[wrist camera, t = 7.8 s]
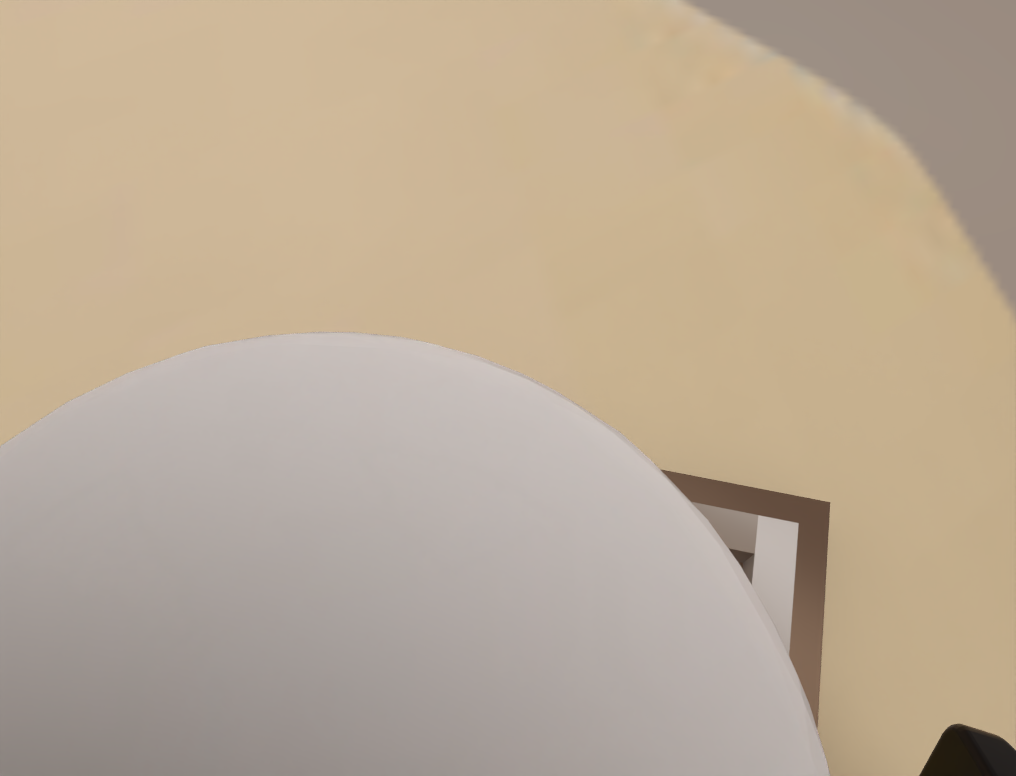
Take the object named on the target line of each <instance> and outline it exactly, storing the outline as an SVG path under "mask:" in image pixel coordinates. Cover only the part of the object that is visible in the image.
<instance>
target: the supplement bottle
mask: <svg viewBox="0 0 1016 776" xmlns="http://www.w3.org/2000/svg"><path fill="white" fill-rule="evenodd" d="M0 776H830V773H829V769H828V765H827V761H826V757H825V754H824V751H823V747H822V744H821V741H820V738H819V734H818V731H817V728H816V724H815V721H814V718H813V715H812V711H811V708H810V705H809V702H808V700H807V697H806V695H805V692H804V690H803V687H802V685H801V683H800V680H799V678H798V675H797V673H796V671H795V668H794V666H793V664H792V662H791V660H790V657H789V655H788V653H787V651H786V648H785V646H784V644H783V642H782V640H781V637H780V635H779V633H778V631H777V628H776V626H775V624H774V623H773V621H772V619H771V617H770V616H769V614H768V612H767V611H766V609H765V607H764V605H763V604H762V602H761V600H760V599H759V597H758V595H757V593H756V592H755V590H754V588H753V586H752V585H751V583H750V581H749V580H748V578H747V576H746V574H745V573H744V571H743V569H742V568H741V566H740V564H739V563H738V561H737V560H736V559H735V557H734V556H733V554H732V553H731V552H730V550H729V549H728V547H727V546H726V545H725V543H724V542H723V541H722V539H721V538H720V536H719V535H718V534H717V532H716V531H715V529H714V528H713V527H712V525H711V524H710V522H709V521H708V520H707V519H706V517H705V516H704V515H703V514H702V513H701V512H700V511H699V510H698V509H697V508H696V507H695V506H694V505H693V504H692V503H691V501H690V500H689V499H688V498H687V497H686V496H685V495H684V494H683V493H682V492H681V491H680V490H679V489H678V488H677V486H676V485H675V484H674V483H673V482H672V481H671V480H670V479H669V478H668V477H667V476H666V475H665V474H664V473H663V472H662V471H661V470H660V469H659V468H658V467H657V466H656V465H655V464H654V463H653V462H652V461H651V460H650V459H649V458H648V457H647V456H646V455H645V454H644V453H642V452H641V451H640V450H639V449H638V448H637V447H636V446H635V445H634V444H633V443H631V442H630V441H629V440H628V439H627V438H626V437H625V436H624V435H623V434H621V433H620V432H619V431H617V430H616V429H614V428H613V427H611V426H610V425H608V424H607V423H605V422H604V421H602V420H600V419H599V418H597V417H596V416H594V415H593V414H591V413H590V412H588V411H586V410H585V409H583V408H582V407H580V406H579V405H577V404H576V403H574V402H573V401H571V400H569V399H568V398H566V397H565V396H563V395H562V394H560V393H559V392H557V391H555V390H553V389H551V388H549V387H547V386H545V385H544V384H542V383H540V382H538V381H536V380H534V379H532V378H530V377H528V376H526V375H524V374H522V373H519V372H517V371H514V370H512V369H509V368H507V367H504V366H502V365H499V364H497V363H494V362H492V361H489V360H487V359H484V358H482V357H479V356H476V355H472V354H469V353H465V352H461V351H457V350H454V349H450V348H446V347H443V346H439V345H435V344H431V343H428V342H423V341H418V340H413V339H408V338H404V337H397V336H387V335H377V334H367V333H356V332H310V333H296V334H282V335H268V336H262V337H256V338H250V339H244V340H239V341H233V342H227V343H221V344H215V345H209V346H204V347H201V348H198V349H195V350H192V351H188V352H185V353H182V354H179V355H176V356H174V357H171V358H168V359H165V360H162V361H160V362H157V363H154V364H151V365H149V366H146V367H143V368H140V369H137V370H135V371H132V372H129V373H126V374H124V375H122V376H120V377H118V378H116V379H114V380H112V381H110V382H108V383H106V384H104V385H102V386H100V387H97V388H95V389H93V390H91V391H89V392H87V393H85V394H83V395H81V396H79V397H77V398H75V399H73V400H71V401H68V402H66V403H65V404H63V405H62V406H60V407H59V408H57V409H56V410H54V411H53V412H51V413H50V414H48V415H47V416H45V417H44V418H42V419H41V420H39V421H38V422H36V423H35V424H33V425H31V426H30V427H28V428H27V429H25V430H24V431H22V432H21V433H19V434H18V435H16V436H15V437H13V438H12V439H10V440H9V441H7V442H6V443H4V444H3V445H1V446H0Z"/></svg>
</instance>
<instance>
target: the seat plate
mask: <svg viewBox="0 0 1016 776" xmlns="http://www.w3.org/2000/svg"><path fill="white" fill-rule="evenodd" d="M661 471H662V472H663V473H664V474H665V475H666V476H667V477H668V478H669V479H670V480H671V481H672V482H673V483H674V484H675V485H676V486H677V488H678V489H679V490H680V491H681V492H682V493H683V494H684V495H685V496H686V497H687V498H688V499H689V500H690V501H691V503H692V504H693V505H694V506H695V507H696V508H697V509H698V510H699V511H700V512H701V513H702V514H703V515H704V516H705V517H706V519H707V520H708V521H709V522H710V524H711V525H712V527H713V528H714V529H715V531H716V532H717V534H718V535H719V536H720V538H721V539H722V541H723V542H724V543H725V545H726V546H727V547H728V549H729V550H730V552H731V553H732V554H733V556H734V557H735V559H736V560H737V561H738V563H739V564H740V566H741V568H742V569H743V571H744V573H745V574H746V576H747V578H748V580H749V581H750V583H751V585H752V586H753V588H754V590H755V592H756V593H757V595H758V597H759V599H760V600H761V602H762V604H763V605H764V607H765V609H766V611H767V612H768V614H769V616H770V617H771V619H772V621H773V623H774V624H775V626H776V628H777V631H778V633H779V635H780V637H781V640H782V642H783V644H784V646H785V648H786V651H787V653H788V655H789V657H790V660H791V662H792V664H793V666H794V668H795V671H796V673H797V675H798V678H799V680H800V683H801V685H802V687H803V690H804V692H805V695H806V697H807V700H808V702H809V705H810V708H811V711H812V715H813V718H814V721H815V724H816V728H817V727H818V709H819V691H820V673H821V655H822V637H823V619H824V602H825V584H826V566H827V548H828V530H829V512H830V502H825V501H820V500H815V499H810V498H804V497H799V496H794V495H789V494H784V493H779V492H774V491H768V490H763V489H758V488H753V487H748V486H743V485H737V484H732V483H727V482H722V481H717V480H712V479H706V478H701V477H696V476H691V475H686V474H681V473H676V472H670V471H665V470H661Z"/></svg>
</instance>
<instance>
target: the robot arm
mask: <svg viewBox="0 0 1016 776" xmlns="http://www.w3.org/2000/svg"><path fill="white" fill-rule="evenodd" d="M919 776H1016V750H1015V749H1014V748H1013V747H1012V746H1011V745H1010V744H1009V743H1008V742H1006V741H1005V740H1004V739H1003V738H1001V737H999V736H997V735H994V734H991V733H988V732H985V731H982V730H979V729H976V728H972V727H969V726H966V725H963V724H954V725H951V726H949V727H948V728H947V729H946V730H945V731H944V733H943V734H942V736H941V738H940V739H939V741H938V743H937V745H936V747H935V748H934V750H933V752H932V754H931V756H930V757H929V759H928V761H927V763H926V765H925V766H924V768H923V770H922V772H921V774H920V775H919Z"/></svg>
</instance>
